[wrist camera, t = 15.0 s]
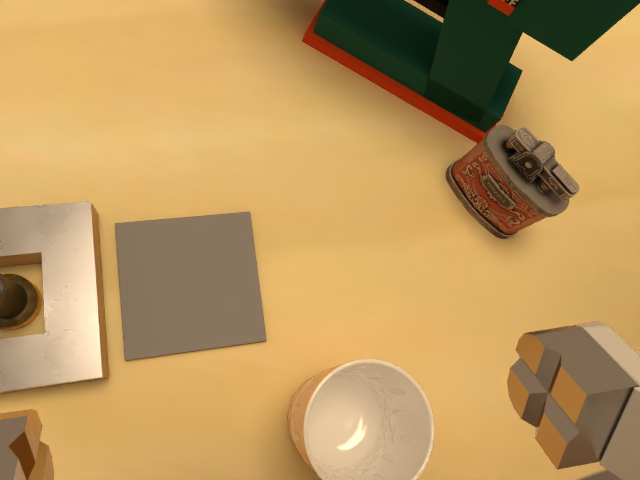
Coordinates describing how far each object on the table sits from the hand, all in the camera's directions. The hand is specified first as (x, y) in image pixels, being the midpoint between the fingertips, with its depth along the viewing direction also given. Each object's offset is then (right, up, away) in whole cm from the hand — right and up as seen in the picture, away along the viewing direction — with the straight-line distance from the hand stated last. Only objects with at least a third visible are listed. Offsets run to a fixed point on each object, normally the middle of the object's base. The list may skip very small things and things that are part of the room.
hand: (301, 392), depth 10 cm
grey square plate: (-9, -1, +33) cm, 34 cm away
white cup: (+1, -11, +33) cm, 35 cm away
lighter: (+14, +6, +40) cm, 43 cm away
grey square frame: (-21, -2, +30) cm, 37 cm away
